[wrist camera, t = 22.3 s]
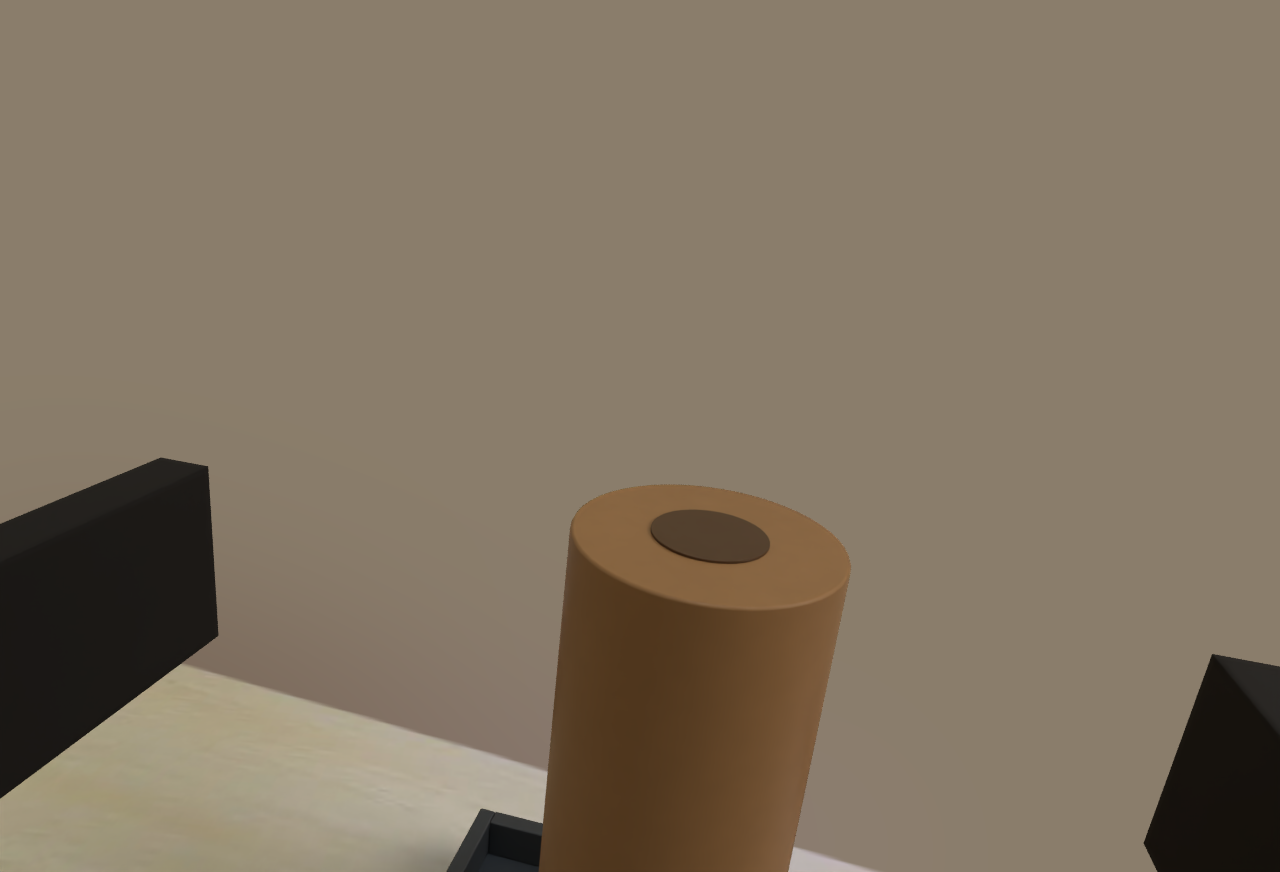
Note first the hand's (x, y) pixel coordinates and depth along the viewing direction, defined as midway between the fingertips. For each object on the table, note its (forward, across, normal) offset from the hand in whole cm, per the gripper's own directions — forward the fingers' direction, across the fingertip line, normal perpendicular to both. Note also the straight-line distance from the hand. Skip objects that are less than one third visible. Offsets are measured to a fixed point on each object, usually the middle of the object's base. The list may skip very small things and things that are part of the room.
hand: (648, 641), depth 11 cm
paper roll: (+10, 0, -20) cm, 22 cm away
